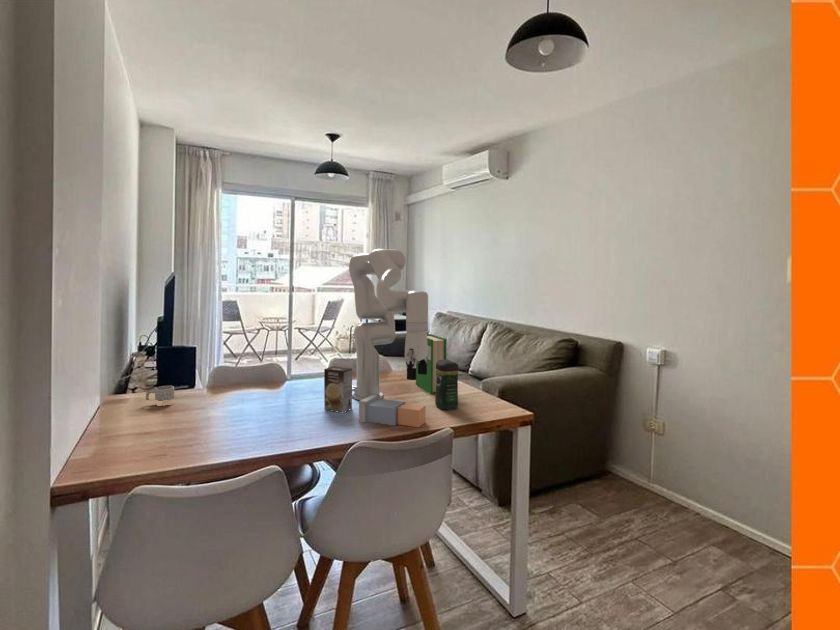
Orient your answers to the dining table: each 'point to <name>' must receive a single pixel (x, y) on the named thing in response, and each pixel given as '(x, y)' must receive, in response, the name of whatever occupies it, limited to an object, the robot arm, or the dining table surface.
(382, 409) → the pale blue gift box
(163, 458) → the dining table surface
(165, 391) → the mug
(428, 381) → the hardback book
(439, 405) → the coffee jar
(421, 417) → the peach rectangular block
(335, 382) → the coffee box
